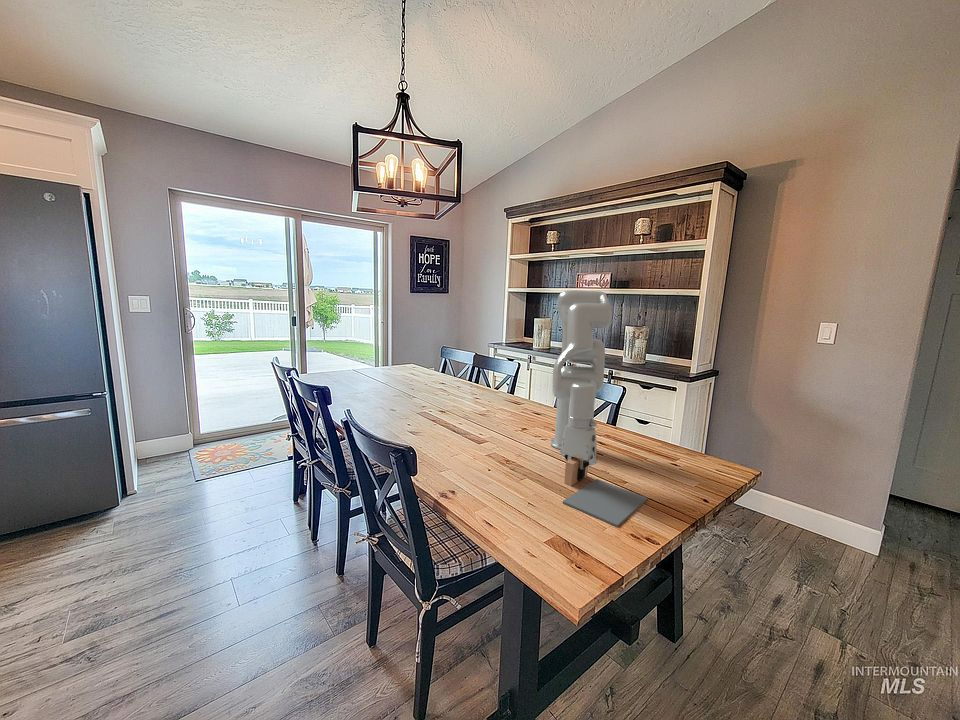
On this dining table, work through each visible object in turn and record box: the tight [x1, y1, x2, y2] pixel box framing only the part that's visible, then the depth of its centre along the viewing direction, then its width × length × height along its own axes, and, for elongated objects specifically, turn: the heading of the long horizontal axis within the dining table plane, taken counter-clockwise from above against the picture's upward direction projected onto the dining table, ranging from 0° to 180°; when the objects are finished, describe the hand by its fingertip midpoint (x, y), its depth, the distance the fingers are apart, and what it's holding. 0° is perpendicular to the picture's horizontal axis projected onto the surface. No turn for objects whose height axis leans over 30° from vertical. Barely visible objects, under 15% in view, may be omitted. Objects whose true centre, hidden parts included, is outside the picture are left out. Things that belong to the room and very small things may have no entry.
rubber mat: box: [562, 478, 648, 528], centre depth 112 cm, size 20×16×1 cm
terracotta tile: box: [564, 457, 589, 486], centre depth 124 cm, size 10×2×7 cm, turn 136°
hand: (576, 477), depth 125 cm, fingers closed on terracotta tile, 2 cm apart
